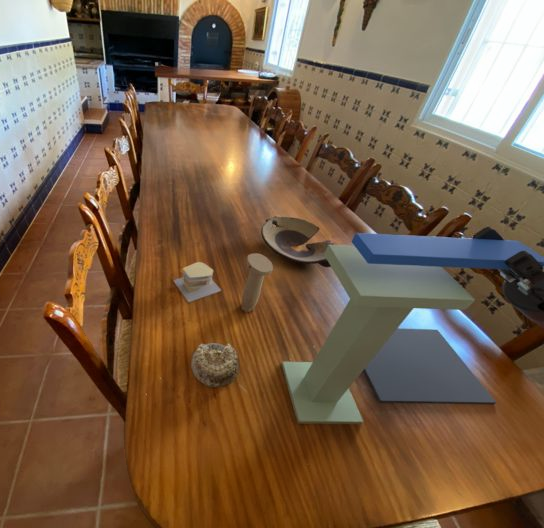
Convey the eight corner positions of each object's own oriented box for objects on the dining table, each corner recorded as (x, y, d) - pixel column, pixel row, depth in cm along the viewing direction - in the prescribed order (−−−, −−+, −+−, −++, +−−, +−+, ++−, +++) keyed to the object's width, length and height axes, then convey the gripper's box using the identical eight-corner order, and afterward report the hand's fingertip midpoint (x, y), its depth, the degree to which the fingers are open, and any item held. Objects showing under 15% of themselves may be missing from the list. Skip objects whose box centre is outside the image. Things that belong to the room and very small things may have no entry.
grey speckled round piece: (243, 386, 59) (249, 373, 55) (194, 392, 57) (196, 379, 54) (232, 341, 66) (236, 328, 62) (187, 346, 64) (189, 332, 61)
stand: (335, 365, 64) (418, 244, 43) (361, 424, 54) (482, 306, 34) (271, 363, 63) (325, 240, 42) (286, 423, 53) (364, 302, 33)
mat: (436, 330, 73) (437, 329, 73) (494, 404, 59) (496, 402, 59) (342, 328, 72) (343, 326, 71) (379, 402, 58) (381, 400, 57)
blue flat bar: (510, 249, 39) (518, 240, 38) (542, 271, 36) (552, 262, 35) (351, 241, 38) (355, 232, 37) (367, 263, 34) (373, 254, 34)
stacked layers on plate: (188, 302, 75) (189, 286, 71) (172, 280, 80) (173, 264, 77) (221, 290, 79) (224, 275, 75) (204, 270, 84) (206, 255, 81)
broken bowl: (306, 226, 107) (312, 208, 102) (356, 283, 85) (368, 262, 80) (247, 229, 103) (252, 210, 98) (284, 290, 80) (292, 268, 76)
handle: (249, 297, 78) (261, 251, 68) (262, 315, 73) (277, 269, 63) (232, 301, 76) (243, 255, 66) (245, 320, 71) (258, 273, 62)
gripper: (536, 250, 46) (485, 194, 39) (648, 323, 35) (601, 261, 28) (484, 280, 50) (430, 233, 43) (570, 354, 39) (513, 306, 32)
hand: (498, 244), depth 36 cm, fingers closed on blue flat bar, 4 cm apart
